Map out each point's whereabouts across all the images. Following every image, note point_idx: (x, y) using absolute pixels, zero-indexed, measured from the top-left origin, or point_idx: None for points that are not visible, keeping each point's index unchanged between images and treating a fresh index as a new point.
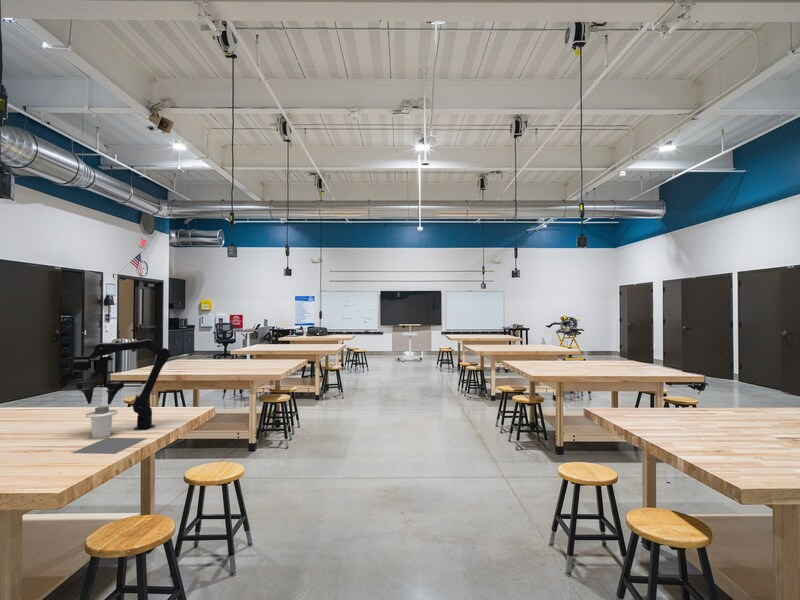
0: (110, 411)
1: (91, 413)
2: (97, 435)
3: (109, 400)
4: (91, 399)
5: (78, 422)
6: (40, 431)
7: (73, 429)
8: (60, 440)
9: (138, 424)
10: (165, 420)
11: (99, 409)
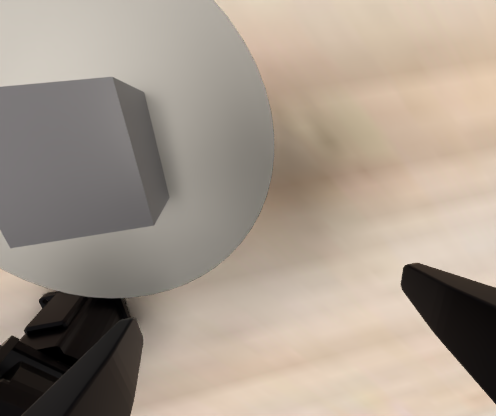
0: (85, 243)
1: (218, 113)
2: None
3: (56, 383)
4: (449, 342)
5: None
6: None
7: (402, 221)
8: (334, 33)
9: (68, 301)
10: None
11: (34, 90)
